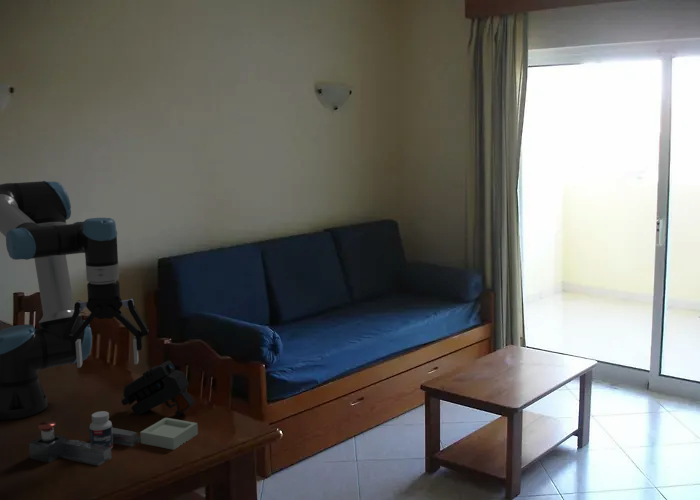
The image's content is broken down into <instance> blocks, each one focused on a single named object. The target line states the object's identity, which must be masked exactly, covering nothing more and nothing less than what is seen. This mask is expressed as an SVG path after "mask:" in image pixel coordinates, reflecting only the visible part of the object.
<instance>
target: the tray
mask: <svg viewBox="0 0 700 500" xmlns="http://www.w3.org/2000/svg"><path fill="white" fill-rule="evenodd" d="M198 428H199V427H198V422H194V421H193V422H192V421H187V420H181V419H176V418H170V417H163V418H162V419H161V420H158V421H157V422H155V423H154V424H151V425H150V426H148V427H146V428H145V429H143V430H142V431H140V432H139V434H140V437H141V441H140V443H141V444H142V445H148V446H154V447H158V448H164V449H168V450H172V451H173V450H176V449H177V448H179V447H180V445H181V446H183V445H184V444H185V443H186V441H187V442H188V441H190V440H192V439H193V438H194V437H196V436H197V435H198V434H199V429H198ZM183 443H184V444H183Z"/></svg>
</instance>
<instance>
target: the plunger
mask: <svg viewBox="0 0 700 500" xmlns="http://www.w3.org/2000/svg"><path fill="white" fill-rule="evenodd" d="M56 426H57V425H56V421H54V420H47V421H42V422H40V423H39V424H38V430H40V431H41V433H40V435H41V437H42V443H46V444H49V443H51V442H53V441H55V438H54V434H55V428H56Z"/></svg>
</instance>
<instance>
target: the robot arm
mask: <svg viewBox="0 0 700 500" xmlns="http://www.w3.org/2000/svg"><path fill="white" fill-rule="evenodd" d="M71 208H72V206H71V200H70V197H69V195H68V191H67V190H66V188H65V187H64V186H63V185H62V183H60V182H59V181H46V180H42V181H27V182H5V183H1V184H0V233H1V235H3V236H4V237H5V243H6V245H5V246H6V250H7V253H8V256H9V258H11V259H12V260H13V261H15V260H16V261H17V260H18V261H19V260H25V261H28V260H31V259H34V264H35V265H34V266H35V271H36V277H37V283H38V289H39V296H40V303H41V309H42V317H41V319H40V320H39V321H38V327H39V328H35V326H34V325H32V324H18V325H13V326H9V327H5V328H2V329H1V330H0V420H6V421H7V420H17V419H18V420H19V419H24V418H27V417H33V416H34V415H37V414H39V413H41V412H43V411H44V410H46V409H47V408H48V398H47V397H48V396H47V395H46V394H45V391H44V388H43V386H42V384H41V382H40V380H39V379H40V378H39V371H40V370H46V369H50V368H51V369H52V368H56V367H60V366H66V365H67V366H68V365H72V364H75V363H76V367H77V369H79V368H81V367H82V365H83V361H85V360H87V359H88V357H89V356H90V353H91V351H92V350H91V349H92V344H93V335H92V334H93V333H92V328H91V326H90V324H91V322H92V321H93V320H94V319H95V318H96V319H98V320H103V319H106V320H111V319H113V318H115V319H116V320H118V321H119V322H120V323H121V324H122V325H123V327H125V328H126V329H127V330H128V331H129V332H130V333H131V334H132V335H133V339H132V346H133V347H132V348H133V360H134V361H133V363H134V365H138V364H139V351H142V348H143V337H146V336H148V335H149V333H150V330H149V327H148V326H147V324H146V322H145V321H144V319H143V318H142V315H141V314H140V313H139V311H138V309H137V308H136V306H135V300H134V298H133V297H130V298H128V299H124V300H123V299H122V298H121V289H120V288H121V287H120V281H119V278H120V271H119V268H120V267H119V258H118V257H119V256H118V254H119V252H118V231H117V226H116V224H117V223H116V221H115V220H114V219H113V218H110V217H93V218H92V217H91V218H86V219H85V220H83V221H76V222H73V223H68V224H67V221H66V220H69V219H70V217H71V215H72V210H71ZM77 254H84V257H85V273H86V281H88V282H87V284H86V285H87V286H86V287H87V301H82V300H77V301H76V302H75V303H74V298H73V297H74V296H73V291H72V286H71V279H70V272H69V266H68V259H67V255H77ZM122 306H124V307H125V308H126V309H128V311H129V313H130V314H131V316H132V318H133V320H134V321H135V323H136V324H137V326H138V327H137V326H136V325H135V324H134V323H133V322H131V320H130V319H129V318H128V317H127V316H126V315H125V314H124V313H123V312H122V310H121V308H122ZM85 308H86V309H87V310H88V311H89V312H90V314H89V315H88V316H87V318H85V319H84V320H83V319H82V314H81V312H82V311H83V310H84V309H85Z"/></svg>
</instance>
